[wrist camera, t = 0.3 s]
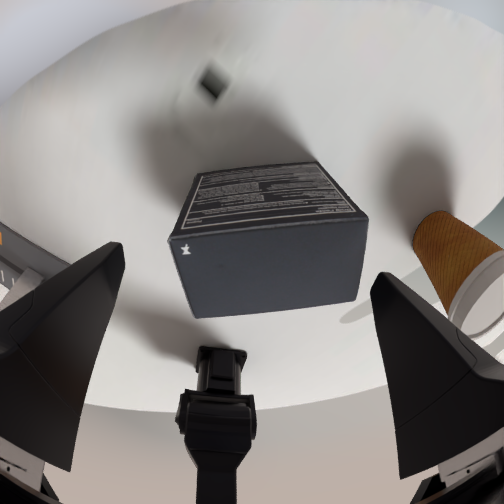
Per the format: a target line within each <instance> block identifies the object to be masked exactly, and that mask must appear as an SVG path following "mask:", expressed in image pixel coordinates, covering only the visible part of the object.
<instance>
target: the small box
mask: <svg viewBox="0 0 504 504" xmlns="http://www.w3.org/2000/svg"><path fill="white" fill-rule="evenodd" d="M368 223H369V218H368V216H367V215H366V214H365V213H364V212H363V211H362V210H360V209H359V207H358V206H357V205H356V204H355V203H354V202H353V201H352V200H351V199H350V197H349V196H347V194H346V193H345V191H344V190H343V189H342V188H341V187H340V186H339V185H338V183H337V182H336V181H335V180H334V179H333V178H332V177H331V176H330V174H329V173H328V172H327V171H326V170H325V169H324V168H323V167H322V166H321V164H320V163H319V162H306V163H290V164H276V165H264V166H254V167H244V168H236V169H227V170H220V171H213V172H207V173H200V174H197V175H196V177H195V178H194V183H193V185H192V187H191V190H190V191H189V194H188V196H187V199H186V201H185V203H184V205H183V208H182V210H181V212H180V215H179V217H178V219H177V222H176V224H175V227H174V229H173V231H172V233H171V234H170V236H169V238H168V240H167V241H168V244H169V247H170V250H171V253H172V256H173V259H174V263H175V265H176V269H177V272H178V275H179V278H180V280H181V283H182V287H183V289H184V292H185V295H186V298H187V301H188V304H189V307H190V309H191V312H192V314H193V317H194V318H196V319H198V318H212V317H225V316H235V315H246V314H257V313H266V312H276V311H285V310H293V309H301V308H309V307H316V306H323V305H331V304H338V303H344V302H352V301H355V300H356V297H357V293H358V289H359V284H360V278H361V272H362V268H363V261H364V254H365V248H366V241H367V232H368Z"/></svg>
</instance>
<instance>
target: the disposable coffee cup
mask: <svg viewBox="0 0 504 504" xmlns="http://www.w3.org/2000/svg"><path fill="white" fill-rule="evenodd" d="M413 249H414V252H415V253H416V255H417V257H418V258H419V260H420V262H421V264H422V266H423V267H424V269H425V271H426V273H427V275H428V277H429V279H430V280H431V282H432V284H433V286H434V288H435V290H436V292H437V294H438V296H439V298H440V300H441V302H442V304H443V307H444V309H445V311H446V313H447V315H448V320H449V321H451V322H452V323H453V324H454V325H455V326H456V327H458V328H459V329H460V330H461V331H462V332H463V333H465V334H466V335H467V336H468V337H469V338H470V339H472V340H473V341H474V340H476V339H478V338H480V337H482V336H484V335H485V334H487V333H488V332H490V331H491V330H492V329H493V328H495V327H496V326H497V325H498V324H499V323H500V322H501V321H502V320H503V319H504V249H502V248H501V247H500V246H498V245H497V244H495V243H494V242H493V241H491V240H489V239H488V238H486V237H485V236H484V235H482V234H480V233H479V232H478V231H476V230H475V229H473V228H472V227H470V226H469V225H467V224H465V223H464V222H462V221H460V220H458V219H457V218H455V217H454V216H452V215H451V214H449V213H447V212H445V211H437V212H434V213H432V214H430V215H429V216H427V217H426V218H425V219H424V220H423V221H422V223H421V224H420V225H419V227H418V228H417V230H416V233H415V235H414V239H413Z"/></svg>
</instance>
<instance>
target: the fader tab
mask: <svg viewBox="0 0 504 504" xmlns="http://www.w3.org/2000/svg"><path fill="white" fill-rule="evenodd" d="M43 282H45V277H44V276H42V275H40V274H39V273H37V272H35V271H34V270H32V269H31V268H29V267H27V269H26V270H25V271H24V272H23V274H22V275H21V276H20V277H19V279H18V280H17V281H16V282H15V284H14V285H13V286H12V288H11V289H10V290H9V291H8V293H7V294H6V296H5V297H4V298H3V300H2V301H1V302H0V311H1V310H3V309H4V308H6V307H7V306H9V305H11V304H12V303H14V302H15V301H17V300H18V299H20V298H21V297H23V296H24V295H26V294H27V293H29V292H30V291H31V290H34V289H35V288H36V287H37V286H39V285H40V284H42V283H43Z"/></svg>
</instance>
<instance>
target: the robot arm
mask: <svg viewBox="0 0 504 504" xmlns="http://www.w3.org/2000/svg"><path fill="white" fill-rule="evenodd" d="M124 270H125V258H124V252H123V246H122V244H121V243H119V242H109V243H107V244H105V245H103V246H102V247H100V248H98V249H97V250H95V251H93V252H91V253H90V254H88V255H86V256H85V257H83V258H81V259H80V260H78V261H76V262H75V263H73V264H72V265H70V266H68V267H67V268H65V269H64V270H62V271H60V272H59V273H57V274H56V275H54V276H53V277H51V278H49V279H48V280H46V281H45V282H43V283H42V284H40V285H39V286H37V287H36V288H35V289H34V290H31V291H30V292H29V293H27V294H26V295H24V296H23V297H21V298H20V299H18V300H17V301H15V302H14V303H12V304H11V305H9V306H7V307H6V308H4V309H3V310H1V311H0V504H62V503H60V502H59V499H58V497H57V496H56V494H55V492H54V491H53V489H52V487H51V486H50V484H49V482H48V481H47V479H46V477H45V476H44V473H43V470H44V465H45V462H47V463H49V464H52V465H54V466H56V467H58V468H60V469H63V470H65V471H68V472H70V471H71V465H72V459H73V452H74V447H75V442H76V436H77V431H78V427H79V422H80V416H81V413H82V408H83V404H84V400H85V396H86V393H87V389H88V385H89V382H90V378H91V375H92V371H93V368H94V365H95V361H96V358H97V355H98V352H99V349H100V346H101V343H102V340H103V337H104V334H105V331H106V328H107V325H108V323H109V320H110V317H111V314H112V312H113V309H114V306H115V302H116V299H117V295H118V291H119V287H120V284H121V280H122V277H123V273H124ZM370 297H371V302H372V308H373V315H374V321H375V327H376V332H377V337H378V341H379V345H380V349H381V354H382V358H383V363H384V368H385V373H386V378H387V383H388V388H389V394H390V399H391V405H392V412H393V418H394V425H395V434H396V443H397V452H398V463H399V476H400V479H404V478H407V477H409V476H412V475H414V474H417V473H419V472H422V471H424V470H427V469H429V468H431V467H434V466H436V465H438V469H439V473H437V474H435V475H433V476H431V477H429V478H427V479H424V480H422V482H421V484H420V486H419V488H418V490H417V492H416V494H415V495H414V497H413V499H412V501H411V502H410V504H504V365H503V364H501V363H500V362H498V361H497V360H496V359H495V358H493V357H492V356H491V355H490V354H489V353H487V352H486V351H485V350H484V349H482V348H481V347H480V346H479V345H478V344H476V343H475V342H474V341H473V340H472V339H470V338H469V337H468V336H467V335H466V334H465V333H463V332H462V331H461V330H460V329H459V328H458V327H456V326H455V325H454V324H453V323H452V322H451V321H449V320H448V319H447V318H446V317H445V316H444V315H442V314H441V313H440V312H439V311H438V310H436V309H435V308H434V307H433V306H432V305H430V304H429V303H428V302H427V301H426V300H424V299H423V298H422V297H420V296H419V295H418V294H417V293H416V292H414V291H413V290H412V289H411V288H409V287H408V286H407V285H405V284H404V283H403V282H402V281H400V280H399V279H398V278H396V277H395V276H394V275H393V274H391V273H389V272H380V273H379V274H378V276H377V278H376V280H375V282H374V284H373V285H372V287H371V290H370ZM246 359H247V353H246V352H240V351H232V350H224V349H217V348H210V347H203V346H201V347H199V349H198V357H197V365H196V372H197V373H198V383H197V391H194V390H189V389H185V392H184V393H183V394H180V402H179V407H178V410H177V414H176V417H175V422H176V423H177V424H178V425H179V429H180V434H184V435H185V438H184V442H185V446H186V450H187V452H188V454H189V456H190V458H191V459H192V461H193V463H194V464H195V466H196V468H197V492H196V504H237V499H236V498H237V497H236V496H237V494H236V493H237V492H236V491H237V489H236V469H237V467H238V466H239V465H240V463H241V462H242V460H243V459H244V457H245V455H246V454H247V453H248V451H249V450H250V448H251V440H254V439H255V436H256V428H257V422H256V421H257V420H256V411H255V403H254V396H253V395H241V372H242V369H243V366H244V364H245V361H246Z"/></svg>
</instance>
